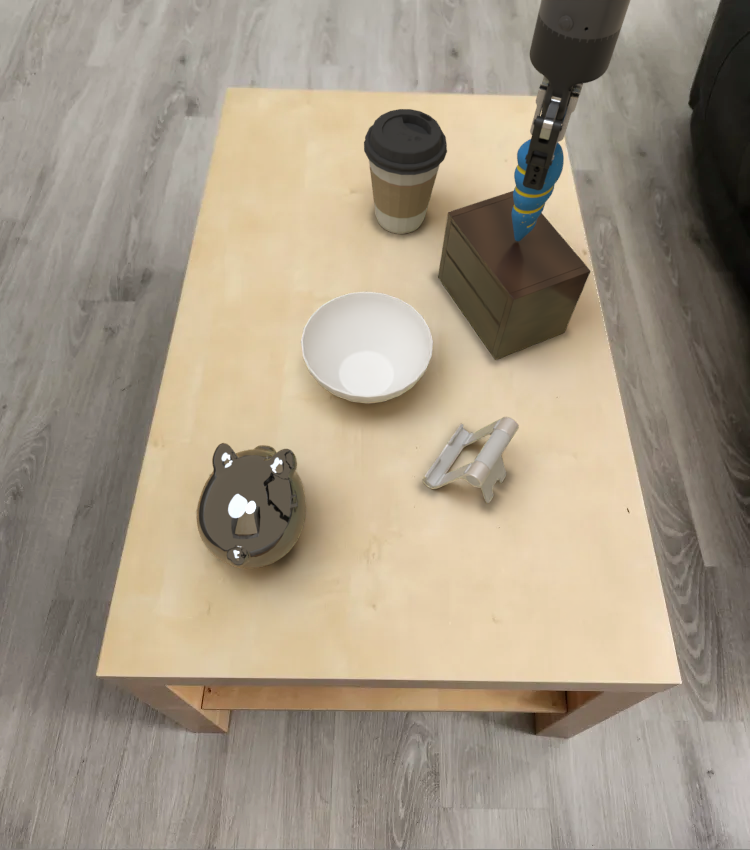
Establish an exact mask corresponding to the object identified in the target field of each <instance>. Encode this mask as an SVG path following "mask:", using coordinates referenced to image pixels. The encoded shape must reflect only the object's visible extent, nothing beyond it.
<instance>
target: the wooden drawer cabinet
mask: <svg viewBox="0 0 750 850" xmlns="http://www.w3.org/2000/svg"><path fill="white" fill-rule="evenodd" d="M513 191H514V190H511V191H507V192H504V193H502V194H499V195H496V196H493V197H489V198H487V199H483V200H481V201H477V202H474V203H471V204H468V205H466V206H462V207H458V208H456V209H454V210H450V211H447V216H446V222H445V228H444V235H443V236H444V237H443V242H442V247H441V255H440V261H439V266H438V267H439V268H438V275H437V278H438V279H439V281H440V282H441V284H442V285H443V287H444V288H445V290H446V291H447V292H448V294H449V296H450V297H451V299H452V300H453V301H454V303H455V304H456V306H457V307H458V309H459V310H460V311H461V313H462V314H463V316H464V317H465V319H466V320H467V321H468V323H469V324H470V325H471V327H472V328H473V330H474V331H475V333H476V334H477V336H478V337H479V338H480V341H481V342H482V343H483V344H484V346H485V347H486V349H487V350H488V352H489V353H490V354H491V356H492V357H493V359H494V360H495V361H497V360H499V359H501V358H504V357H506V356H509V355H511V354H514V353H517V352H519V351H522V350H524V349H527V348H529V347H532V346H534V345H536V344H539V343H542V342H544V341H547V340H549V339H552V338H554V337H557V336H559V335H562V334H564V333H565V332H566V330H567V328H568V325H569V323H570V321H571V319H572V316H573V314H574V311H575V309H576V307H577V305H578V302H579V300H580V297H581V295H582V292H583V290H584V288H585V285H586V284H587V281H588V279H589V276H590V274H591V270H590V268H589V267H588V266H587V265H586V263H585V262H584V261H583V260H582V258H581V257H580V256H579V255H578V254H577V253H576V252H575V251H574V249H573V248H572V247H571V246H570V244H569V243H568V242H567V241H566V240H565V239H564V237H563V236H562V235H561V234H560V233H559V232H558V230H557V229H556V228H555V227H554V225H553V224H552V223H551V221H549V220H548V219H547V217H546V216H545V215H544V214H543V212H542V213H541V214H540V216H539V217H538V218H537V221H536V224H535V227H534V228H533V229H532V230H531V231H530V232H529V233H528V234H527V235H526V236H525V237H524V238H522V240H521V241H516V240H515V238H514V230H513V223H512V208H513V206H514V200H513Z"/></svg>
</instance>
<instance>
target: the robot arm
mask: <svg viewBox="0 0 750 850" xmlns="http://www.w3.org/2000/svg"><path fill="white" fill-rule="evenodd" d="M630 4H631V0H540V5H539V9H538V13H537V16H536V17H537V18H536V22H535V27H534V31H533V34H532V35H533V36H532V40H531V44H530V48H529V60H530V63H531V66H532V67H533V68H534V69H535V70H536V71H537V72H538V73H539V74H540V75H542V76H543V77H542V81H541V83H540V85H539V86H538V91H537V93H536V99H535V104H536V107H535V111H534V114H533V119H532V122H531V126H530V130H529V132H530V135H531V137H530V139H531V141H530V145H529V150H528V154H526V157H525V160H526V162H525V164H527V168H526V172H525V176H524V180H523V186H524V187H527V188H531V189H535V190H541V189H542V188H543V185H544V182H545V179H546V175H547V172H548V169H549V167H550V166H551V165H552V162H553V161H552V160H554V156H555V155H554V151H555V148H556V145H557V142H558V143H560V142H562V141H563V140H564V138H565V135H566V133H567V129H568V126H569V122H570V119H571V115H572V113H573V112H575V110H576V108H577V105H578V101H579V98H580V95H581V92H582V89H583V85H584V84H588V83H591V82H594V81H596V80H598V79H600V78H601V77H602V76H603V75H604V74H606V72H607V71H608V69H609V67H610V63H611V61H612V57H613V55H614V51H615V48H616V45H617V42H618V39H619V36H620V33H621V31H622V27H623V24H624V22H625V18H626V15H627V12H628V9H629V7H630V6H629V5H630Z"/></svg>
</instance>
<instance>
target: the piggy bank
mask: <svg viewBox="0 0 750 850" xmlns="http://www.w3.org/2000/svg"><path fill="white" fill-rule="evenodd" d="M211 465H212V472H210V474H209V476H208V477H207V479H206V481H205V483H204V485H203V487H202V489H201V492H200V495H199V499H198V502H197V507H196V526H197V531H198V534H199V537H200V539H201V541H202V543H203V544H204V546H205V548H207V550H208V551H209V552H210V553H211V554H212V555H213V556H214V557H216V558H217V559H218V560H219V561H221V562H222V563H225V564H227V565H229V566H231V567H235V568H239V569H245V570H251V569H253V570H254V569H260V568H263V567H267V566H269V565H272V564H274V563H276V562H278V561H279V560H281V559H282V558H283V557H285V556H286V555H287V554H288V553H289V552H290V551H291V550H292V549H293V548H294V547H295V545H296V543H297V542H298V540H299V538H300V536H301V534H302V532H303V528H304V525H305V520H306V512H307V510H306V509H307V502H306V494H305V493H306V492H305V489H304V485H303V482H302V480H301V477H300V475H299V474H298V472H297V468H298V460H297V456H296V454H295V452H294V451H293V450H292V449H289V448H282V449H280V450H278V451H276V449H275V448H274V447H273V446H270V445H265V444H260V445H258V446H256V447H254V448H253V449H245V450H241V451H238V452H235V450H234V449H233V448H232V447H231V445H229V444H228V443H225V442H221V443H219V444H218V445H217V446H216V447H215V449H214V452H213V455H212V458H211Z"/></svg>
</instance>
